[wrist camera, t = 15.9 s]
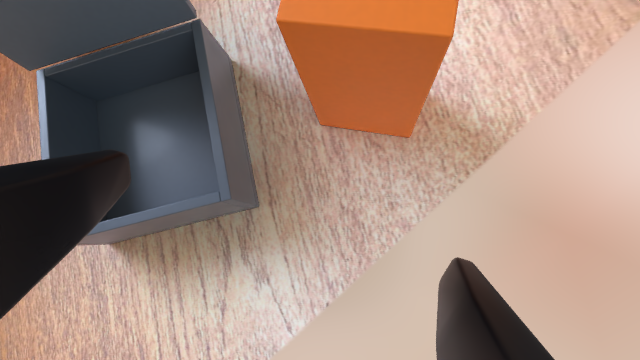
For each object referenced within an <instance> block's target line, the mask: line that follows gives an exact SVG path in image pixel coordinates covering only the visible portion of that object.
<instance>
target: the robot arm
mask: <svg viewBox="0 0 640 360" xmlns="http://www.w3.org/2000/svg"><path fill="white" fill-rule="evenodd" d="M130 183H131V172H130V163H129V157H128V156H127V154H125V153H123V152H120V151H116V150H113V149H109V150H102V151H96V152H89V153H83V154H77V155H70V156H64V157H57V158H51V159H44V160H38V161H31V162H25V163H18V164H12V165H6V166H0V319H1V318H2V317H3V316H4V315H5V314H6V313H7V312H8V311H10V310H11V309H12V308H13V307H14V306H15V305H16V304H17V303H18V302H19V301H20V300H21V299H22V298H23V297H24V296H25V295H26V294H27V293H28V292H29V291H30V290H31V289H32V288H33V287H34V286H35V285H36V284H37V283H38V282H39V281H40V280H41V279H42V278H43V277H45V276H46V275H47V274H48V273H49V272H50V271H51V270H52V269H53V268H54V267H55V266H56V265H57V264H58V263H59V262H60V261H61V260H62V259H63V258H64V257H65V256H66V255H67V254H68V253H69V252H70V251H71V250H72V249H73V248H74V247H75V246H76V245H77V244H78V243H80V242H81V241H82V240H83V239H84V238H85V237H86V236H87V235H88V234H89V233H90V232H91V231H92V230H93V229H94V227H95V226H96V225H97V224H98V223H99V222H100V221H101V219H102V218H103V217H104V216H105V215H106V213H107V212H108V211H109V210H110V209H111V208H112V206H113V205H114V204H115V203H116V202H117V200H118V199H119V198H120V197H121V196H122V194H123V193H124V192H125V191H126V190H127V189H128V187H129V185H130ZM436 352H437V360H554V359H553V357H552V356H551V355H550V354H549V353H548V351H547V350H546V349H545V348H544V347H543V345H542V344H541V343H540V342H539V341H538V339H537V338H536V337H535V336H534V335H533V334H532V332H531V331H530V330H529V329H528V328H527V326H526V325H525V324H524V323H523V322H522V321H521V319H520V318H519V317H518V316H517V315H516V313H515V312H514V311H513V310H512V309H511V307H509V305H508V304H507V303H506V301H505V300H504V299H503V298H502V297H501V296H500V294H499V293H498V292H497V291H496V290H495V289H494V287H493V286H492V285H491V284H490V282H489V281H488V280H487V279H486V278H485V277H484V275H483V274H482V273H481V272H480V271H479V269H478V268H477V267H476V266H475V265H474V264H473V263H472V262H470V261H468V260H464V259H461V258H454V259H453V260H452V261H451V263H450V265H449V266H448V268H447V269H446V271H445V273H444V275H443V276H442V278H441V280H440V283H439V291H438V311H437V331H436Z"/></svg>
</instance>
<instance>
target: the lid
mask: <svg viewBox="0 0 640 360" xmlns="http://www.w3.org/2000/svg"><path fill="white" fill-rule="evenodd" d="M195 18H197V15H196V10H195V8H194V7H193V5H192V4H191V2H190V1H189V0H0V53H2V54H4V55H5V56H7V57H8V58H10V59H11V60H13V61H15V62H16V63H18V64H19V65H21V66H22V67H24V68H26V69H27V70H29V71H31V70H34V69H38V68H41V67H44V66H47V65H50V64H53V63H56V62H60V61H63V60H66V59H69V58H72V57H75V56H78V55H82V54H85V53H88V52H91V51H94V50H97V49H100V48H104V47H107V46H110V45H113V44H116V43H119V42H122V41H126V40H129V39H132V38H135V37H138V36H141V35H144V34H148V33H151V32H154V31H157V30H160V29H163V28H166V27H170V26H173V25H176V24H179V23H182V22H185V21H188V20H192V19H195Z"/></svg>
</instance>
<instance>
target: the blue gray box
mask: <svg viewBox="0 0 640 360" xmlns="http://www.w3.org/2000/svg"><path fill="white" fill-rule="evenodd" d="M36 73H37V91H38V109H39V126H40V144H41V160H44V159H51V158H57V157H64V156H70V155H77V154H83V153H89V152H96V151H102V150H109V149H113V150H116V151H120V152H123V153H125V154H127V156H128V157H129V163H130V172H131V183H130V185H129V187H128V189H127V190H126V191H125V192H124V193H123V194H122V196H121V197H120V198H119V199H118V200H117V202H116V203H115V204H114V205H113V206H112V208H111V209H110V210H109V211H108V212H107V213H106V215H105V216H104V217H103V218H102V219H101V221H100V222H99V223H98V224H97V225H96V226H95V227H94V229H93V230H92V231H91V232H90V233H89V234H88V235H87V236H86V237H85V238H84V239H83V240H82V241H81V242H80V243H78V244H77V245H102V244H103V245H105V244H112V243H116V242H120V241H124V240H128V239H132V238H136V237H140V236H144V235H148V234H152V233H156V232H160V231H164V230H168V229H172V228H176V227H180V226H184V225H188V224H192V223H196V222H200V221H204V220H208V219H212V218H216V217H220V216H224V215H228V214H232V213H236V212H240V211H244V210H248V209H252V208H256V207H259V202H258V197H257V192H256V187H255V181H254V176H253V171H252V166H251V161H250V155H249V150H248V145H247V140H246V134H245V129H244V124H243V119H242V114H241V108H240V103H239V98H238V93H237V87H236V82H235V77H234V72H233V66H232V61H231V59H230V57H229V56H228V55H227V53H226V52H225V51H224V49H223V48H222V47H221V46H220V44H219V43H218V42H217V40H216V39H215V38H214V37H213V35H212V34H211V33H210V31H209V30H208V29H207V27H206V26H205V25H204V24H203V22H202V21H201V20H200V19H198V20H195V21H192V22H189V23H186V24H183V25H179V26H176V27H173V28H170V29H167V30H164V31H160V32H157V33H154V34H151V35H148V36H145V37H142V38H138V39H135V40H132V41H129V42H126V43H123V44H120V45H116V46H113V47H110V48H107V49H104V50H101V51H98V52H94V53H91V54H88V55H85V56H82V57H79V58H76V59H72V60H69V61H66V62H63V63H60V64H57V65H53V66H50V67H47V68H45V69H41V70H38V71H36Z"/></svg>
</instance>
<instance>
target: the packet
mask: <svg viewBox="0 0 640 360" xmlns="http://www.w3.org/2000/svg"><path fill="white" fill-rule="evenodd" d="M458 1H459V0H281V2H280V6H279V10H278V14H277V18H276V21H277V24H278V26H279V28H280V31H281V33H282V35H283V38H284V40H285V42H286V45H287V47H288V50H289V52H290V54H291V57H292V59H293V61H294V64H295V66H296V68H297V71H298V73H299V75H300V78H301V80H302V83H303V85H304V87H305V90H306V92H307V94H308V97H309V99H310V101H311V104H312V106H313V109H314V111H315V113H316V116H317V118H318V120H319V123H320V124H321V125H326V126H333V127H340V128H346V129H353V130H360V131H367V132H374V133H380V134H387V135H394V136H401V137H408V138H409V137H410V136H411V133H412V131H413V129H414V126H415V124H416V122H417V119H418V117H419V115H420V112H421V110H422V108H423V105H424V103H425V101H426V98H427V96H428V94H429V91H430V89H431V87H432V84H433V82H434V80H435V77H436V75H437V73H438V70H439V68H440V66H441V63H442V61H443V59H444V56H445V54H446V52H447V49H448V47H449V45H450V42H451V40H452V38H453V34H454V27H455V21H456V14H457V8H458Z"/></svg>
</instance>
